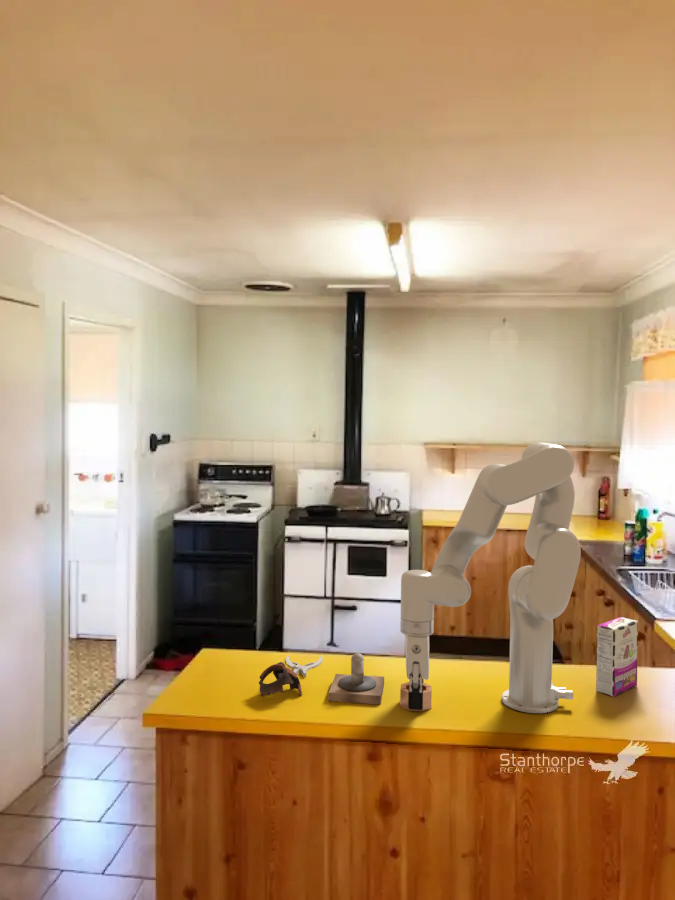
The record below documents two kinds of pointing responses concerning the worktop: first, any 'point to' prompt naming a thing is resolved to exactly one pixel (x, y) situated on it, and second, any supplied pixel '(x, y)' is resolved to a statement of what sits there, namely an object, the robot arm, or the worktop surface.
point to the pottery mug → (279, 679)
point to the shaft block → (357, 685)
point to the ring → (426, 696)
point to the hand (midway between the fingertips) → (415, 701)
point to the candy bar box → (617, 656)
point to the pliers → (303, 669)
